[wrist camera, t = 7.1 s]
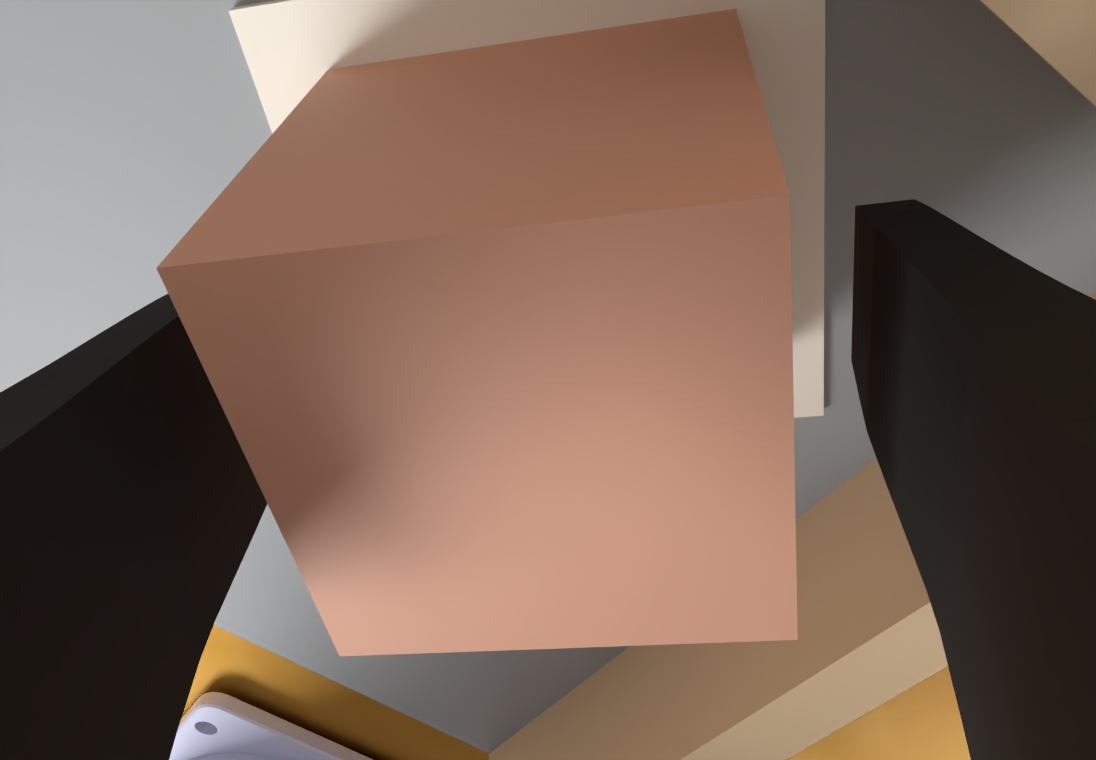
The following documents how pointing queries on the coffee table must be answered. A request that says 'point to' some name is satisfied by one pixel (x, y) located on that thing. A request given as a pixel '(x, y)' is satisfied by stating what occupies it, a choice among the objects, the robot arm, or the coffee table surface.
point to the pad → (562, 8)
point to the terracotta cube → (517, 343)
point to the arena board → (819, 441)
